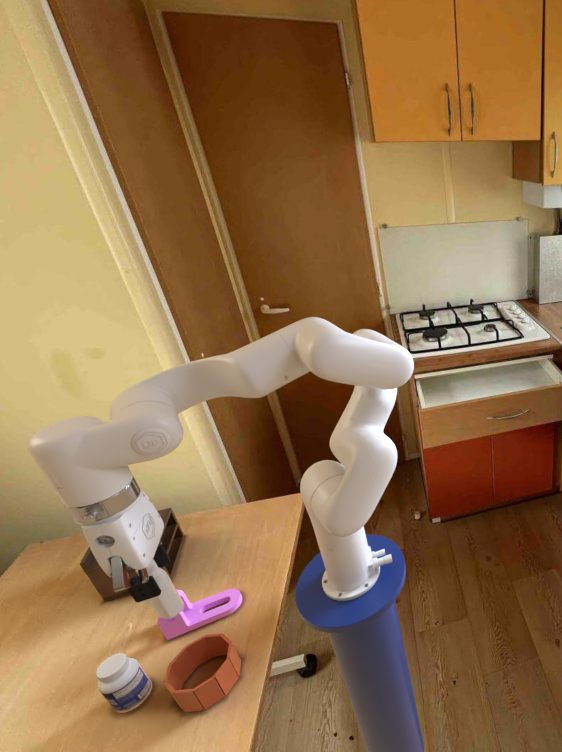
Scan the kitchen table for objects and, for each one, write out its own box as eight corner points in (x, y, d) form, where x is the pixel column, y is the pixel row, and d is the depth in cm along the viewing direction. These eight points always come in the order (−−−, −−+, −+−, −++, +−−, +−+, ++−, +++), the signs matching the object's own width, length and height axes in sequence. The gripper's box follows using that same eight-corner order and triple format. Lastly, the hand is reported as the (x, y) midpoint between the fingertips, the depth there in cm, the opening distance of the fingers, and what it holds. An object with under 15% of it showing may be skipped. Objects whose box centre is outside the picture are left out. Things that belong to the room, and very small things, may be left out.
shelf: (185, 536, 107) (168, 501, 102) (171, 581, 96) (150, 544, 90) (127, 552, 103) (105, 516, 98) (104, 601, 92) (79, 564, 86)
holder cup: (243, 643, 84) (234, 624, 81) (236, 697, 75) (226, 678, 72) (185, 664, 80) (173, 646, 77) (170, 723, 72) (157, 705, 69)
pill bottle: (111, 698, 75) (86, 667, 71) (148, 673, 79) (127, 642, 74) (118, 721, 72) (92, 690, 68) (156, 694, 76) (134, 663, 71)
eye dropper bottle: (187, 588, 75) (160, 540, 69) (184, 614, 70) (156, 566, 65) (156, 600, 73) (127, 552, 67) (151, 628, 68) (119, 579, 63)
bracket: (167, 640, 84) (154, 618, 81) (171, 616, 88) (158, 595, 85) (242, 609, 90) (232, 587, 87) (242, 588, 94) (233, 567, 91)
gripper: (117, 532, 55) (169, 618, 63) (153, 456, 69) (192, 535, 77) (41, 552, 52) (106, 640, 60) (94, 469, 66) (142, 549, 74)
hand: (154, 580), depth 68 cm, fingers closed on eye dropper bottle, 5 cm apart
